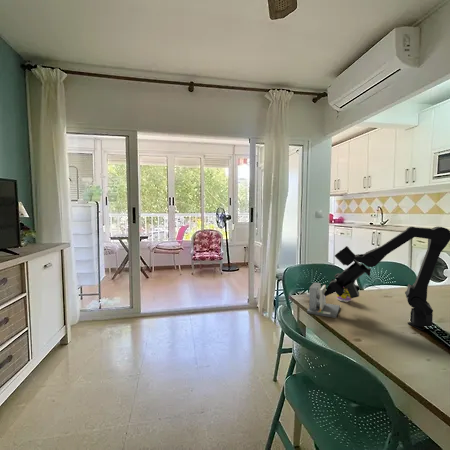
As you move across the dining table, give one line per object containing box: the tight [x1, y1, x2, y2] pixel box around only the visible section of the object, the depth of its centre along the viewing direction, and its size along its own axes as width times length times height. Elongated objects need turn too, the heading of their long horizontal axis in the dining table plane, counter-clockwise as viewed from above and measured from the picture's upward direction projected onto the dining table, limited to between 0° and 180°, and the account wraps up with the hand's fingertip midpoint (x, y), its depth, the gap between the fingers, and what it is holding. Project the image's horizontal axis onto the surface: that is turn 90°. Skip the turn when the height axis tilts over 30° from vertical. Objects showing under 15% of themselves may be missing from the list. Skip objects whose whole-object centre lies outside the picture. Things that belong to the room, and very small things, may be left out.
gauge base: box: [306, 303, 341, 319], centre depth 121 cm, size 12×14×1 cm
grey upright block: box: [306, 284, 327, 312], centre depth 122 cm, size 8×11×9 cm, turn 150°
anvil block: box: [308, 282, 322, 311], centre depth 123 cm, size 3×10×10 cm, turn 150°
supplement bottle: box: [336, 287, 352, 303], centre depth 135 cm, size 7×7×13 cm
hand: (324, 295), depth 121 cm, fingers closed
